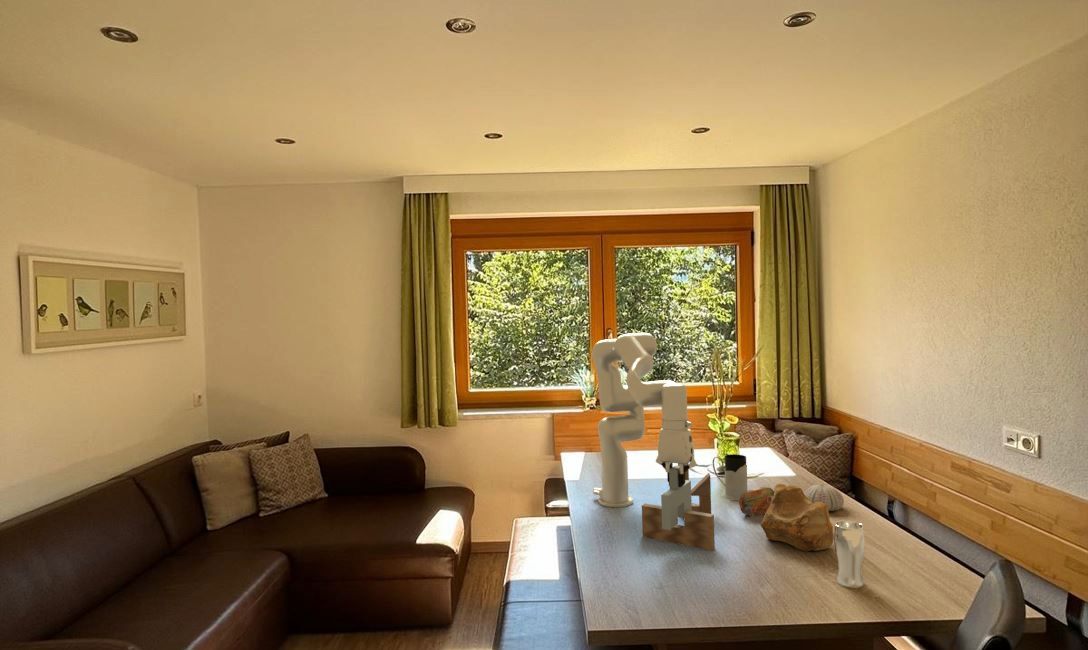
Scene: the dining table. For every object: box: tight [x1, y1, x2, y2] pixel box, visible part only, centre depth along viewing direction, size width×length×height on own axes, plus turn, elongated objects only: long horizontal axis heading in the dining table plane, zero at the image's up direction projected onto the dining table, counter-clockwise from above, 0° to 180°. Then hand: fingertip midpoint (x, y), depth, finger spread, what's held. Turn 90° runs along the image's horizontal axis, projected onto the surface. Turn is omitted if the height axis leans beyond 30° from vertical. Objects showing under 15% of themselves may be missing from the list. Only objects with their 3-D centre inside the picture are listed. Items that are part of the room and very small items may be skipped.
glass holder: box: [712, 453, 748, 502], centre depth 235 cm, size 9×14×15 cm, turn 41°
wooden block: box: [677, 463, 712, 514], centre depth 215 cm, size 4×11×18 cm, turn 83°
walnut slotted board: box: [641, 503, 716, 551], centre depth 191 cm, size 22×2×10 cm, turn 57°
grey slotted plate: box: [660, 465, 693, 530], centre depth 190 cm, size 18×2×16 cm, turn 147°
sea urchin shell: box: [803, 483, 845, 512], centre depth 219 cm, size 13×14×8 cm
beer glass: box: [833, 519, 866, 589], centre depth 160 cm, size 7×7×15 cm
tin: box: [739, 486, 774, 517], centre depth 215 cm, size 15×3×8 cm, turn 117°
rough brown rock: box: [760, 483, 834, 553], centre depth 189 cm, size 23×17×15 cm
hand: (676, 484), depth 190 cm, fingers closed on grey slotted plate, 2 cm apart
